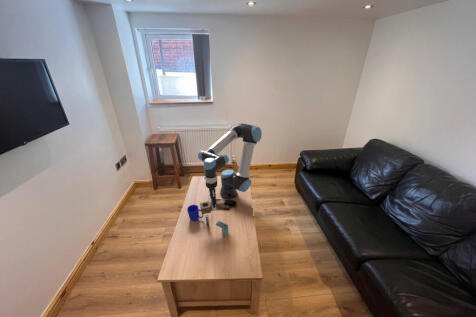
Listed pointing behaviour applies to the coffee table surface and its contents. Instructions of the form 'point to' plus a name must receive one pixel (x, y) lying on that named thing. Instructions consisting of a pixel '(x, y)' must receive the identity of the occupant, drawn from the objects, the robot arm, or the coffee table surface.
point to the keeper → (223, 227)
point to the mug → (193, 212)
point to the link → (207, 206)
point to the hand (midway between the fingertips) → (213, 208)
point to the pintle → (207, 220)
